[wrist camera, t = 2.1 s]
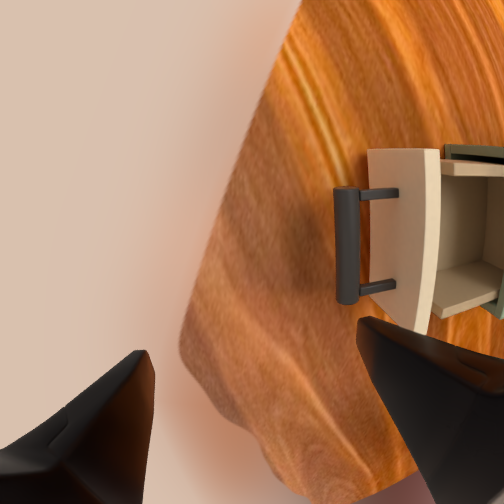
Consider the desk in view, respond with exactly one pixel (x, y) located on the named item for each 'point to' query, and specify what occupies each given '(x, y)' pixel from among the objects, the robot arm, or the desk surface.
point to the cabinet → (498, 306)
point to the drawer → (423, 235)
